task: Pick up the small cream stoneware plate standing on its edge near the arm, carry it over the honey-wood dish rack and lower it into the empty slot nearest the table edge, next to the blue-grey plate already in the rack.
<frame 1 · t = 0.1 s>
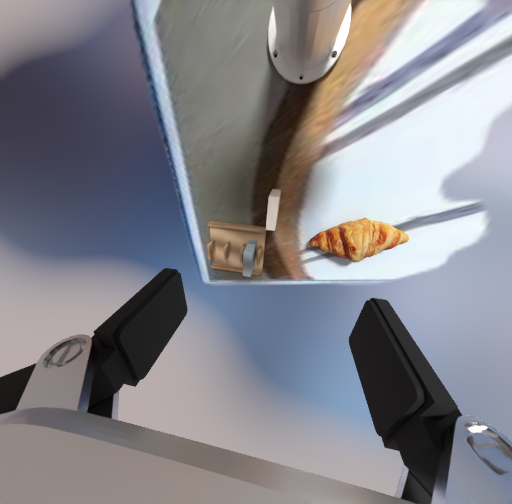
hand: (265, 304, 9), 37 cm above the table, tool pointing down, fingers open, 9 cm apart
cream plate: (275, 204, 43), on the table
croissant: (353, 237, 44), on the table
dish rack: (237, 247, 51), on the table
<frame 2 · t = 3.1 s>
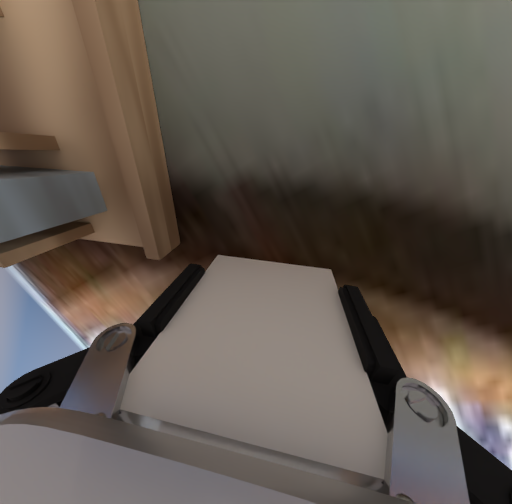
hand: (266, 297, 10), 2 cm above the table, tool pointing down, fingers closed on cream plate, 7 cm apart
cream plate: (270, 275, 12), on the table, touching gripper
dish rack: (24, 90, 9), on the table
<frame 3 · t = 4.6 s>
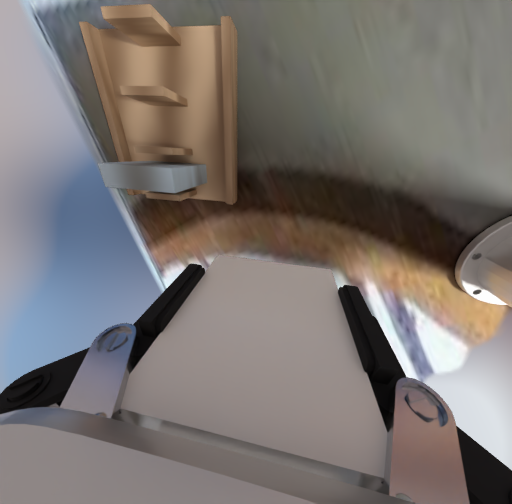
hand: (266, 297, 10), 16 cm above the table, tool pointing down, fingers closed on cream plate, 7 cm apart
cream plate: (270, 274, 12), point 13 cm above the table, touching gripper
dish rack: (178, 129, 21), on the table
when the fingers open (4 cm above the table, at t = 7.7 s): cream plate drops 1 cm, resting on dish rack.
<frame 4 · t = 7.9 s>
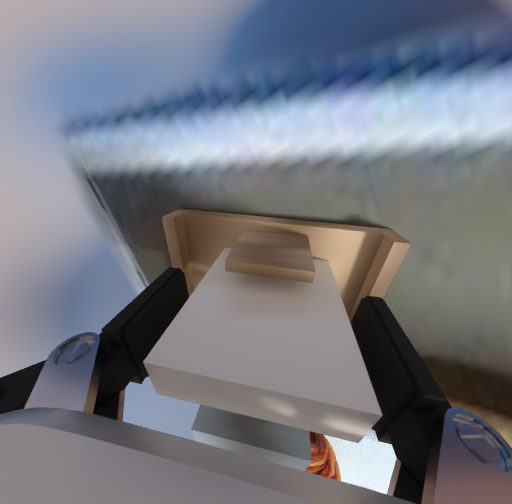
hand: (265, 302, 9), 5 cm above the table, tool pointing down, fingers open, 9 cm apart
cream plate: (273, 266, 13), point 1 cm above the table, touching dish rack
croissant: (302, 440, 29), on the table
dish rack: (268, 301, 16), on the table
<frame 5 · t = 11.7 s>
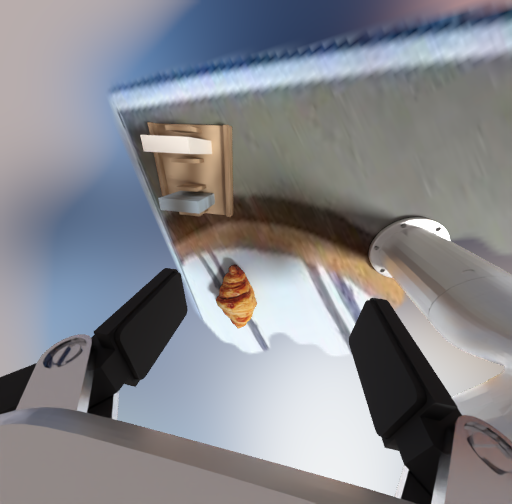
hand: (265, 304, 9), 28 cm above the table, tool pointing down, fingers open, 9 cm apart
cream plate: (192, 146, 32), point 1 cm above the table, touching dish rack
croissant: (238, 293, 48), on the table
dish rack: (197, 172, 35), on the table
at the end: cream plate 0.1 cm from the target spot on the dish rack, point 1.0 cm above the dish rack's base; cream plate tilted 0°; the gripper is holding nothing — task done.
